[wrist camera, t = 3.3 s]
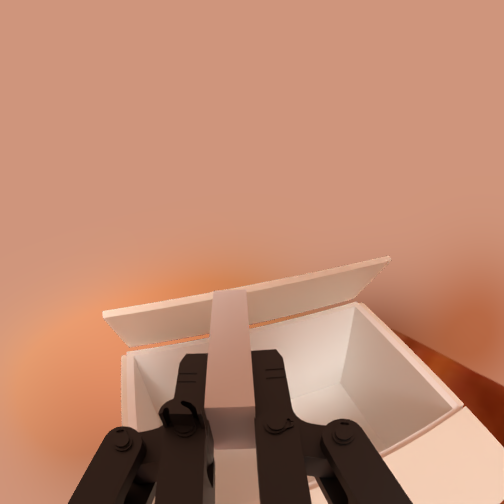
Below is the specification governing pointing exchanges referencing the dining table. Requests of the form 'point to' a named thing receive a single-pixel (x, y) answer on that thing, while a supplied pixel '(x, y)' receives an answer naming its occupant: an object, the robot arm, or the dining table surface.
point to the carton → (343, 406)
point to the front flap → (258, 300)
